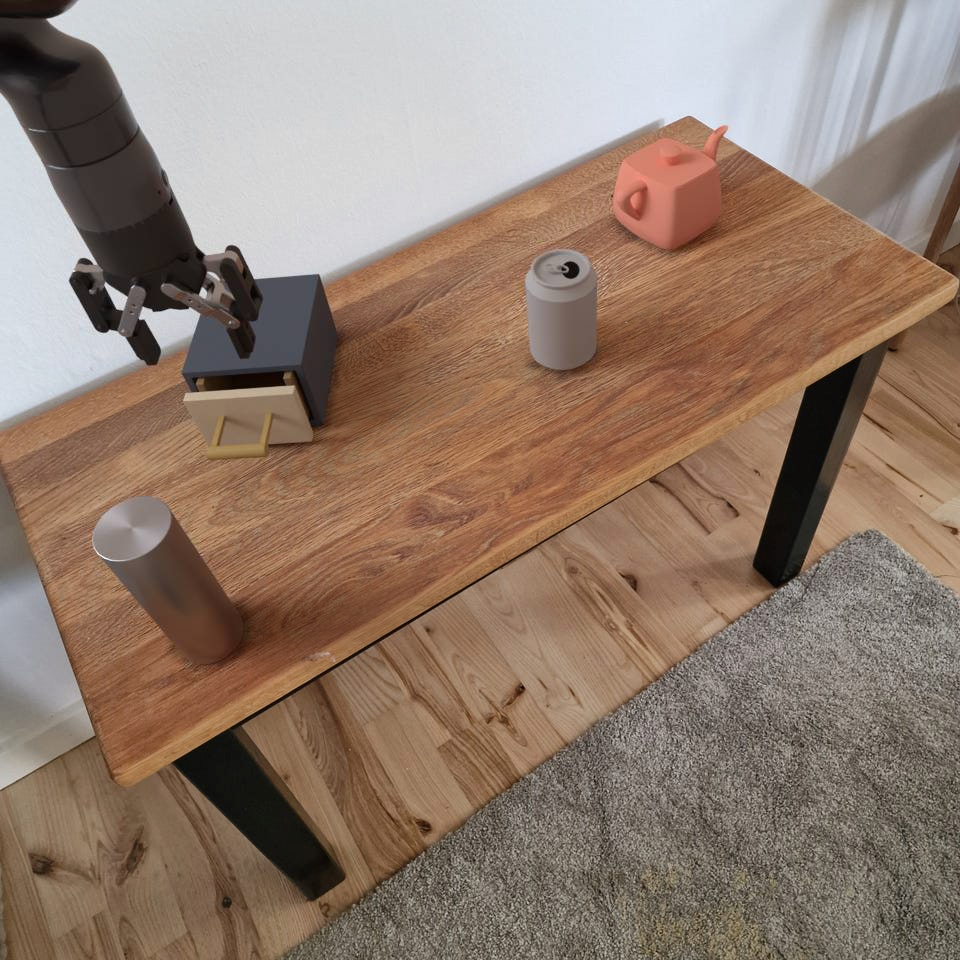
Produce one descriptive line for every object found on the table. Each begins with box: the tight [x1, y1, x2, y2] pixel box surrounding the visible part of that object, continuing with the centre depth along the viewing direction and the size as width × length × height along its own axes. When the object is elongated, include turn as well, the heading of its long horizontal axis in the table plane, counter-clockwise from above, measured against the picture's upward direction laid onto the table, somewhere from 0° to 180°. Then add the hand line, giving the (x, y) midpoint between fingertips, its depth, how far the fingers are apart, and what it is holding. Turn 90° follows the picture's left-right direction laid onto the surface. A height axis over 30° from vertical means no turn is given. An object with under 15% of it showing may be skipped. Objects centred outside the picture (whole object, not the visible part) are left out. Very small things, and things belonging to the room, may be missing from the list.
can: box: [524, 248, 598, 371], centre depth 89 cm, size 8×8×12 cm
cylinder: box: [91, 495, 245, 665], centre depth 69 cm, size 6×6×17 cm
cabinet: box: [180, 273, 339, 426], centre depth 92 cm, size 15×13×9 cm
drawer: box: [182, 370, 314, 461], centre depth 88 cm, size 19×11×7 cm, turn 0°
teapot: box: [612, 124, 729, 251], centre depth 103 cm, size 12×18×10 cm, turn 126°
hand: (201, 355), depth 74 cm, fingers open, 8 cm apart
